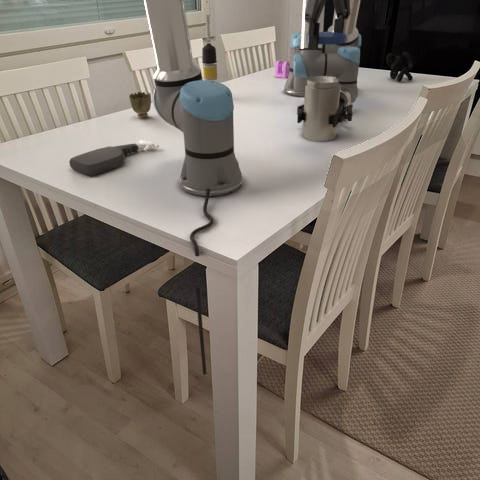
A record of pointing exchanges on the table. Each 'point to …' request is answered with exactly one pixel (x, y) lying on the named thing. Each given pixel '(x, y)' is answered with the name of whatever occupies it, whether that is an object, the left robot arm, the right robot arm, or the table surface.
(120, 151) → the spray bottle
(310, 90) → the jar
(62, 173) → the table surface
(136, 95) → the cup
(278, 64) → the bracket
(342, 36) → the lid
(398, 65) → the squiggle
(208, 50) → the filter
